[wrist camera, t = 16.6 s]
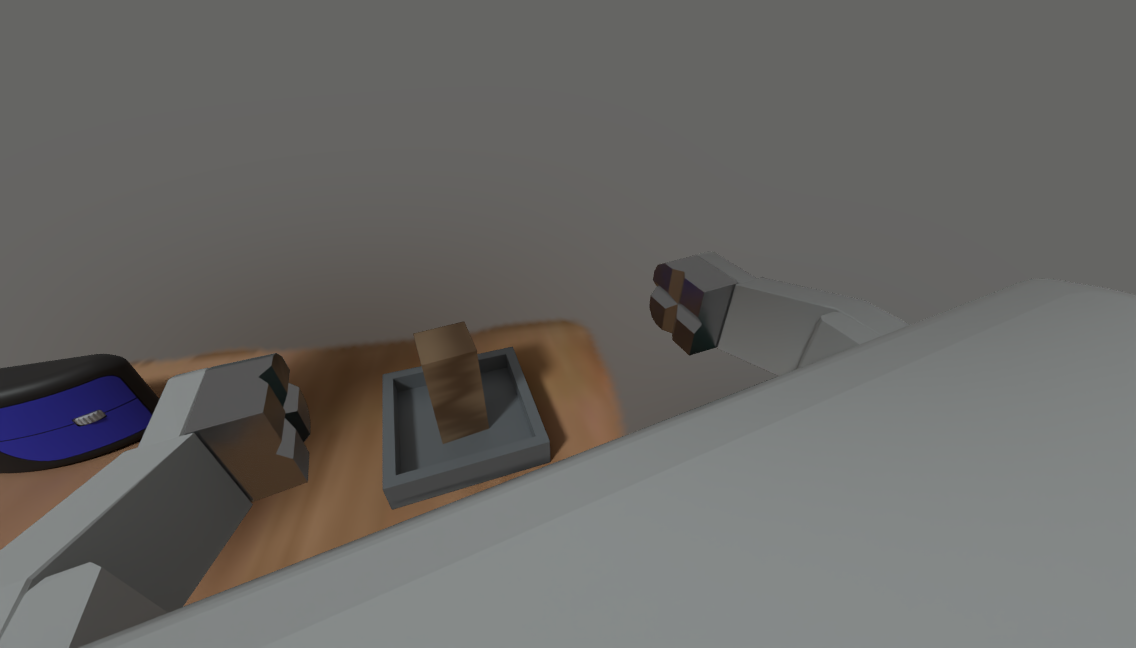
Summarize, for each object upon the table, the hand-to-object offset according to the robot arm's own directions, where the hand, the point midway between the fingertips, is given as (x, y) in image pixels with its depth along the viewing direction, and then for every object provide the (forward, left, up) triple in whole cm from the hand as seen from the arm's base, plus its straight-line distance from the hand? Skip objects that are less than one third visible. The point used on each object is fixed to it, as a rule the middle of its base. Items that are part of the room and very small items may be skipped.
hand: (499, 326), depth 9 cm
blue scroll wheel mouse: (-37, +33, -28) cm, 57 cm away
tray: (-1, +22, -28) cm, 36 cm away
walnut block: (-2, +22, -27) cm, 35 cm away
